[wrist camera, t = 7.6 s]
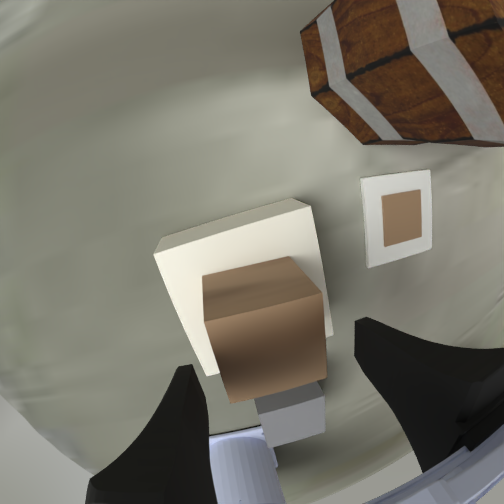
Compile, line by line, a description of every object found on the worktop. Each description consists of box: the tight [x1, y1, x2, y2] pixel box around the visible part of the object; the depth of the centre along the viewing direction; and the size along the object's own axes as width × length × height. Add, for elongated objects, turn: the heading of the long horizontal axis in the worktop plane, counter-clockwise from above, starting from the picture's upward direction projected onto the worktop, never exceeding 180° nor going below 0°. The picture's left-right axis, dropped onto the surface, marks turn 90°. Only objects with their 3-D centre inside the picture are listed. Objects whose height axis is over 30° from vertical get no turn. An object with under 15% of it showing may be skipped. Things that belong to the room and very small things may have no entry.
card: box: [360, 169, 432, 268], centre depth 21 cm, size 7×7×1 cm
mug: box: [300, 0, 504, 147], centre depth 10 cm, size 20×14×15 cm
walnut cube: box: [202, 256, 327, 403], centre depth 15 cm, size 5×5×5 cm
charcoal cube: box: [254, 381, 325, 448], centre depth 22 cm, size 5×5×5 cm
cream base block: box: [154, 198, 334, 376], centre depth 19 cm, size 9×9×4 cm
